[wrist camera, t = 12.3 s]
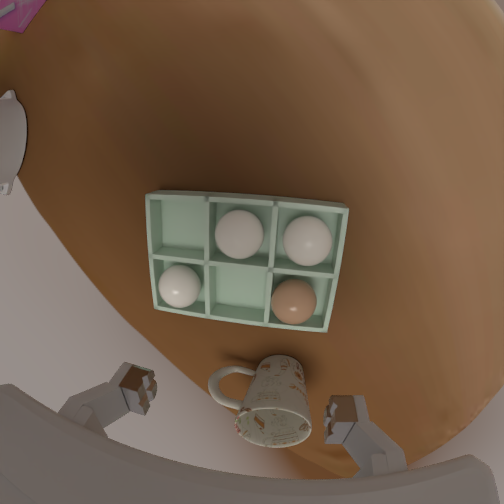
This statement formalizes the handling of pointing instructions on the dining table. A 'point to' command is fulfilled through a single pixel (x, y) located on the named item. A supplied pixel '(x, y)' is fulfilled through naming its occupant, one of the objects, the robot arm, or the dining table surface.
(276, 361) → the mug
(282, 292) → the brown egg
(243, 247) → the white egg
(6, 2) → the gum box
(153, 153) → the dining table surface
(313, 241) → the white egg
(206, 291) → the egg tray
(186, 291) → the white egg
